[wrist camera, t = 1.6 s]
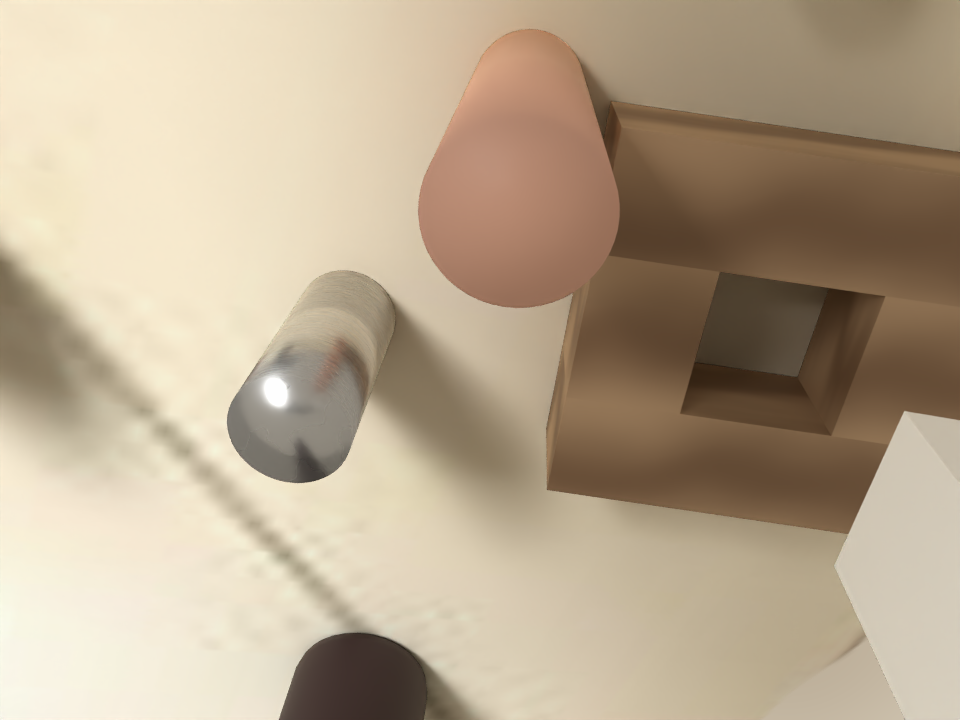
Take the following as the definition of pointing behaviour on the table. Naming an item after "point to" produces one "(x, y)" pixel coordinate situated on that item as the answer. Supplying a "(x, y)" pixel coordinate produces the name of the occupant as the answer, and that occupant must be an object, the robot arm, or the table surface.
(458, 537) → the table surface
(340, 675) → the wine bottle
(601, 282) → the hole block
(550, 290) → the long pin
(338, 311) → the medium pin
